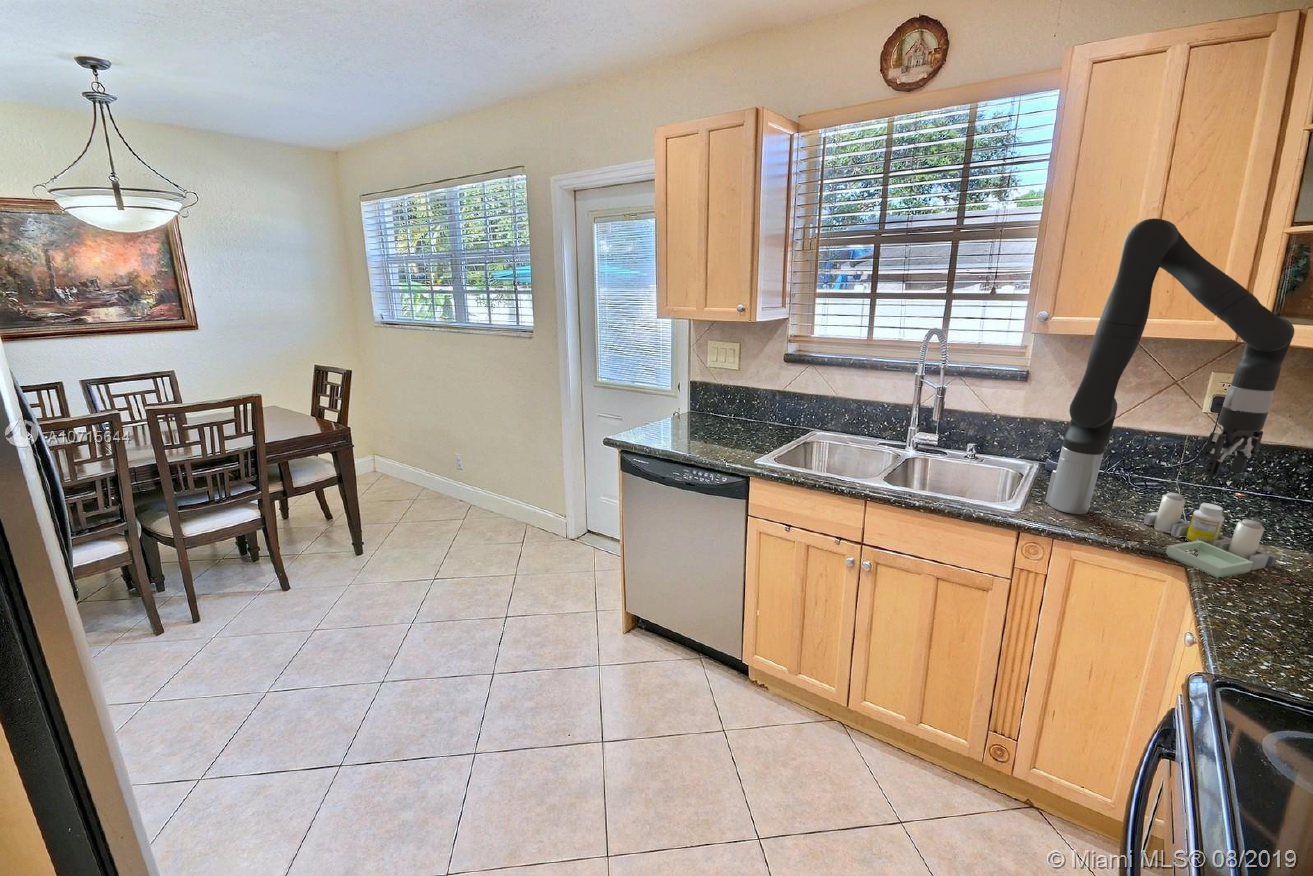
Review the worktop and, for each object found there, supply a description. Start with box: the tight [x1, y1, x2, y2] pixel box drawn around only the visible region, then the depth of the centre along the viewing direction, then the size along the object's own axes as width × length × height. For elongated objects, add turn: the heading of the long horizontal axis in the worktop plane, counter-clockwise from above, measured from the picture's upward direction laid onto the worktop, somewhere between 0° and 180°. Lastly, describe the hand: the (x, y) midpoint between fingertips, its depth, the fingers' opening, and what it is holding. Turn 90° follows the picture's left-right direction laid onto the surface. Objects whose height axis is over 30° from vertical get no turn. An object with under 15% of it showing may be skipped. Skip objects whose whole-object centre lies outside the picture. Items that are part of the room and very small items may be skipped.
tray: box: [1165, 540, 1253, 579], centre depth 134 cm, size 11×11×2 cm
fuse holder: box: [1143, 511, 1279, 571], centre depth 143 cm, size 24×7×3 cm, turn 17°
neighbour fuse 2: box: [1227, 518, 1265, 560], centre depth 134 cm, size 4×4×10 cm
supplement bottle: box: [1184, 502, 1225, 545], centre depth 142 cm, size 6×6×10 cm
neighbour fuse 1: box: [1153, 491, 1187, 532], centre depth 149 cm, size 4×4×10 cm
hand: (1223, 473), depth 137 cm, fingers open, 8 cm apart
